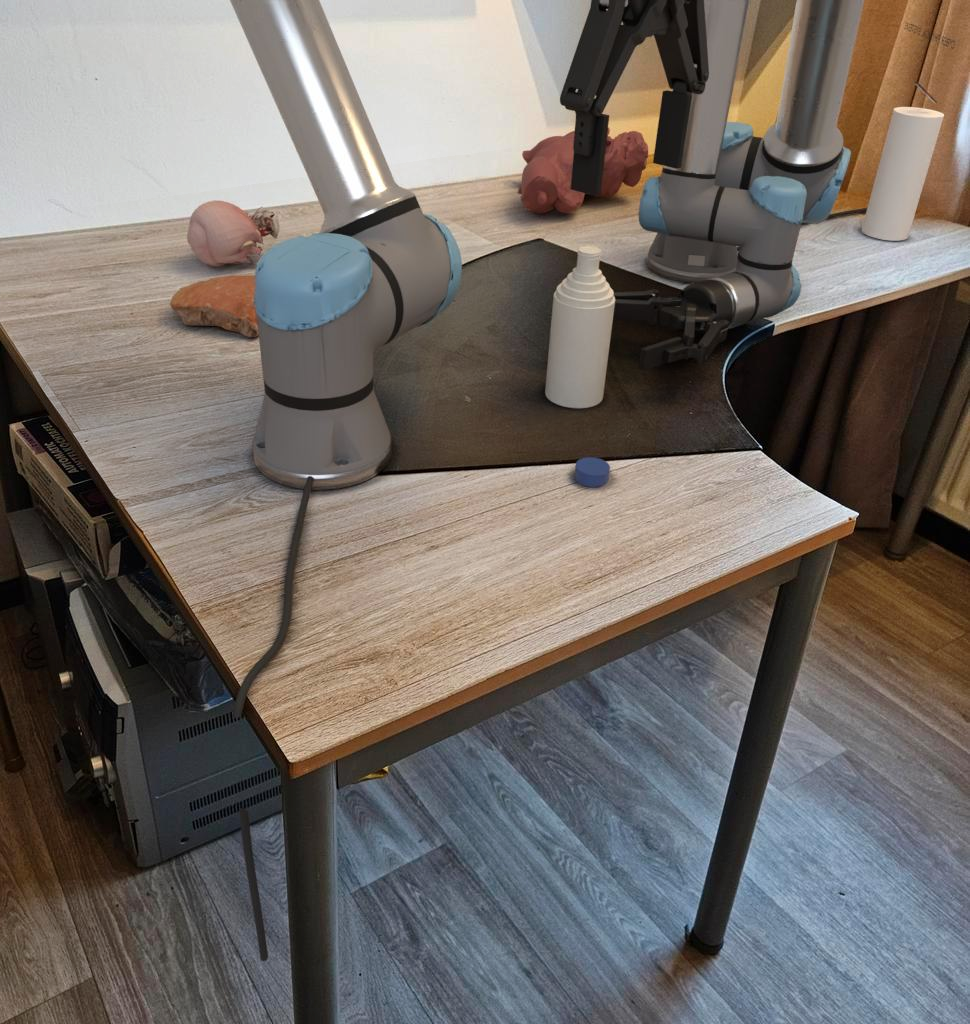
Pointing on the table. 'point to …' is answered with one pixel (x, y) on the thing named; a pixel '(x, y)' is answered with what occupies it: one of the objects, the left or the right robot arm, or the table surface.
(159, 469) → the table surface
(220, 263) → the toy
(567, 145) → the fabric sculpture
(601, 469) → the cap
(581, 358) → the bottle
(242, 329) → the ceramic shard
